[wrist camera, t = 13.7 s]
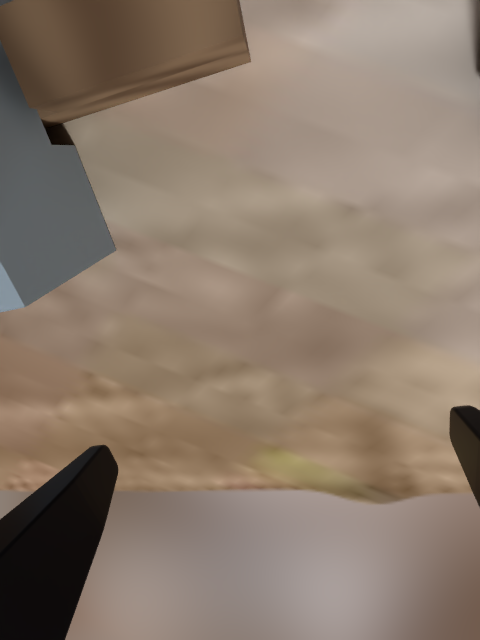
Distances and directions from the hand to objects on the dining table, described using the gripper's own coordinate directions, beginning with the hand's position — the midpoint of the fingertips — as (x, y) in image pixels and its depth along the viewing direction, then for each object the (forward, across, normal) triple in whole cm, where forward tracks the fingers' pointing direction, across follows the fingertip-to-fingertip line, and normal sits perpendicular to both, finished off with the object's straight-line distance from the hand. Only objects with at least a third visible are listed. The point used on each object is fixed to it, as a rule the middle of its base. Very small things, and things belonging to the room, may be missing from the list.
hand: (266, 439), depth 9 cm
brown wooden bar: (+12, +10, -12) cm, 19 cm away
